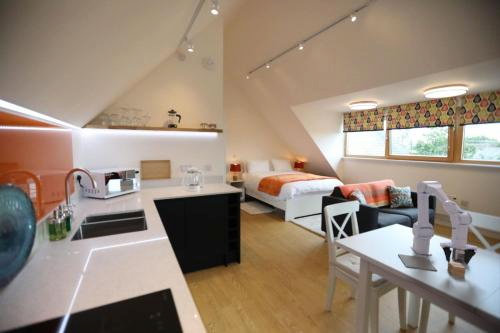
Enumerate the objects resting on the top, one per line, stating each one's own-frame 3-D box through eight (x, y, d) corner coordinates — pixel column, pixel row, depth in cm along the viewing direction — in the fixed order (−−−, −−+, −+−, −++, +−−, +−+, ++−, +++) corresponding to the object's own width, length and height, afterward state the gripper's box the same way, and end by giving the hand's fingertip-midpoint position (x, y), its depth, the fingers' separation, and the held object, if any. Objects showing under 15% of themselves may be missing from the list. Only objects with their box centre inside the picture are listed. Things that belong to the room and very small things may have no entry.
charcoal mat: (398, 255, 139) (398, 254, 139) (425, 258, 135) (425, 257, 135) (406, 267, 126) (406, 266, 126) (437, 271, 122) (437, 270, 121)
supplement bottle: (451, 256, 137) (453, 238, 136) (465, 259, 133) (467, 240, 132) (451, 260, 132) (453, 241, 131) (466, 264, 128) (468, 244, 127)
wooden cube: (447, 270, 122) (448, 261, 122) (458, 272, 121) (459, 262, 120) (452, 275, 118) (453, 266, 117) (464, 277, 116) (465, 268, 116)
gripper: (445, 237, 115) (443, 264, 117) (482, 241, 111) (479, 268, 112) (439, 232, 122) (437, 257, 123) (473, 235, 118) (470, 261, 119)
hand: (456, 262), depth 118 cm, fingers open, 7 cm apart
